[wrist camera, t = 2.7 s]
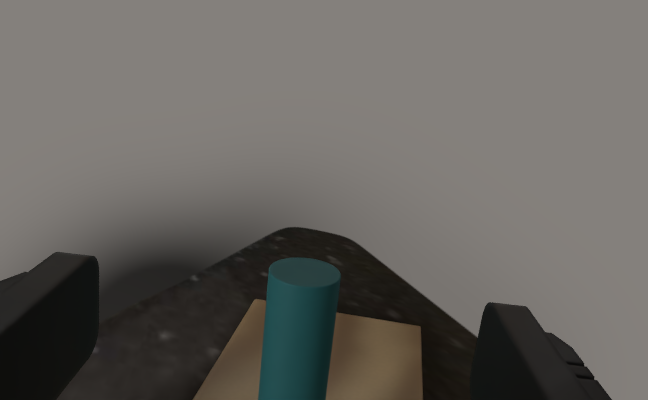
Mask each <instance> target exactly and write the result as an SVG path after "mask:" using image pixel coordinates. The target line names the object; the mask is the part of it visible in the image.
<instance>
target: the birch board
mask: <svg viewBox="0 0 648 400" xmlns="http://www.w3.org/2000/svg"><path fill="white" fill-rule="evenodd" d="M265 311H266V301H264V300H258V299H255V300H254V302H253V303H252V305H251V307H250V308H249V310H248V311H247V313H246V315H245V316H244V318H243V319H242V321H241V323H240V324H239V326H238V327H237V329H236V331H235V332H234V334H233V336H232V337H231V339H230V340H229V342H228V344H227V345H226V347H225V348H224V350H223V352H222V353H221V355H220V357H219V358H218V360H217V361H216V363H215V365H214V366H213V368H212V369H211V371H210V373H209V374H208V376H207V377H206V379H205V381H204V382H203V384H202V386H201V387H200V389H199V390H198V392H197V394H196V395H195V397H194V398H193V400H258V394H259V382H260V370H261V358H262V346H263V334H264V322H265ZM326 400H423V381H422V350H421V327H420V326H414V325H408V324H402V323H396V322H390V321H384V320H378V319H372V318H366V317H360V316H354V315H348V314H342V313H336V320H335V328H334V336H333V344H332V352H331V360H330V368H329V377H328V385H327V393H326Z"/></svg>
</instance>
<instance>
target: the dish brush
mask: <svg viewBox="0 0 648 400" xmlns="http://www.w3.org/2000/svg"><path fill="white" fill-rule="evenodd" d="M340 279H341V274H340V272H339V270H338V269H337V268H335V267H334V266H332V265H331V264H328V263H326V262H323V261H320V260H316V259H310V258H287V259H282V260H279V261H276V262H274V263H273V264H272V265H271V266H270V268H269V275H268V287H267V299H266V311H265V322H264V334H263V346H262V358H261V370H260V382H259V394H258V400H326V393H327V385H328V377H329V368H330V360H331V352H332V344H333V336H334V328H335V320H336V312H337V304H338V295H339V287H340Z"/></svg>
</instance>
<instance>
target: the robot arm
mask: <svg viewBox="0 0 648 400" xmlns="http://www.w3.org/2000/svg"><path fill="white" fill-rule="evenodd" d="M98 329H99V266H98V261H97V259H96V258H95V257H94V256H88V255H80V254H79V255H78V254H71V253H62V252H56V253H54V254H52V255H51V256H49V257H48V258H47V259H45V260H44V261H43V262H41V263H40V264H38V265H37V266H36V267H35V268H33V269H32V270H30V271H29V272H24V273H21V274H18V275H15V276H13V277H10V278H7V279H5V280H2V281H0V400H56V399H57V397H58V396H59V395H60V394H61V392H62V391H63V390H64V389H65V387H66V386H67V385H68V384H69V382H70V381H71V380H72V378H73V377H74V376H75V375H76V373H77V372H78V371H79V370H80V368H81V367H82V366H83V365H84V363H85V362H86V361H87V360H88V358H89V357H90V355H91V354H92V352H93V349H94V347H95V344H96V340H97V336H98ZM470 393H471V399H472V400H612V399H611V398H610V397H609V395H608V394H607V393H606V391H605V390H604V389H603V388H602V386H601V385H600V384H599V382H598V381H597V380H594V376H593V375H592V373H591V372H590V370H589V369H588V368H587V367H584V363H583V361H582V360H581V359H580V358H579V356H578V355H577V354H576V352H575V351H574V349H573V348H572V347H570V346H569V345H568V344H566V343H565V342H563V341H562V340H561V339H559V338H558V337H556V336H555V335H554V334H552V333H546V332H545V331H544V330H543V329H542V327H541V326H540V324H539V323H538V322H537V320H536V319H535V317H534V316H533V315H532V313H531V312H530V310H529V309H528V308H527V307H526V306H518V305H509V304H500V303H491V302H490V303H488V304H487V305H486V306H485V309H484V312H483V315H482V320H481V325H480V330H479V334H478V339H477V344H476V349H475V354H474V358H473V363H472V368H471V375H470Z"/></svg>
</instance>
